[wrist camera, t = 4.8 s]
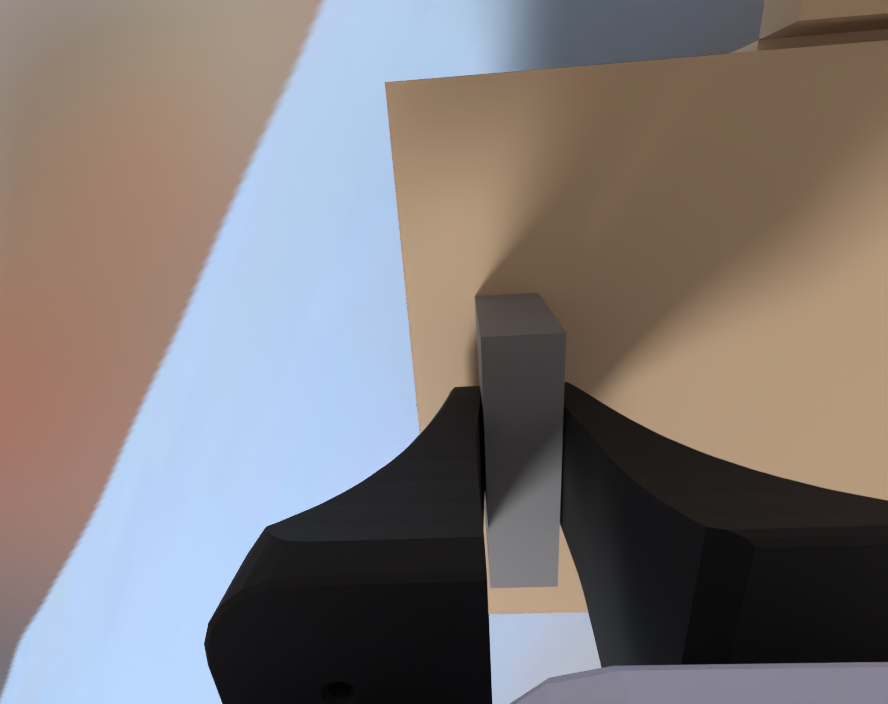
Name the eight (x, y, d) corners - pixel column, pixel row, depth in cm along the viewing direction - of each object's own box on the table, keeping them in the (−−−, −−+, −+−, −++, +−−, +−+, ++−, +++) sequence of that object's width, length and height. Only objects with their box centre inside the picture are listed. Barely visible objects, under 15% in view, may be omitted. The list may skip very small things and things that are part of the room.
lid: (924, 585, 14) (1071, 712, 11) (438, 596, 15) (433, 718, 12) (1165, 25, 9) (1610, -75, 5) (389, 89, 10) (352, 38, 6)
